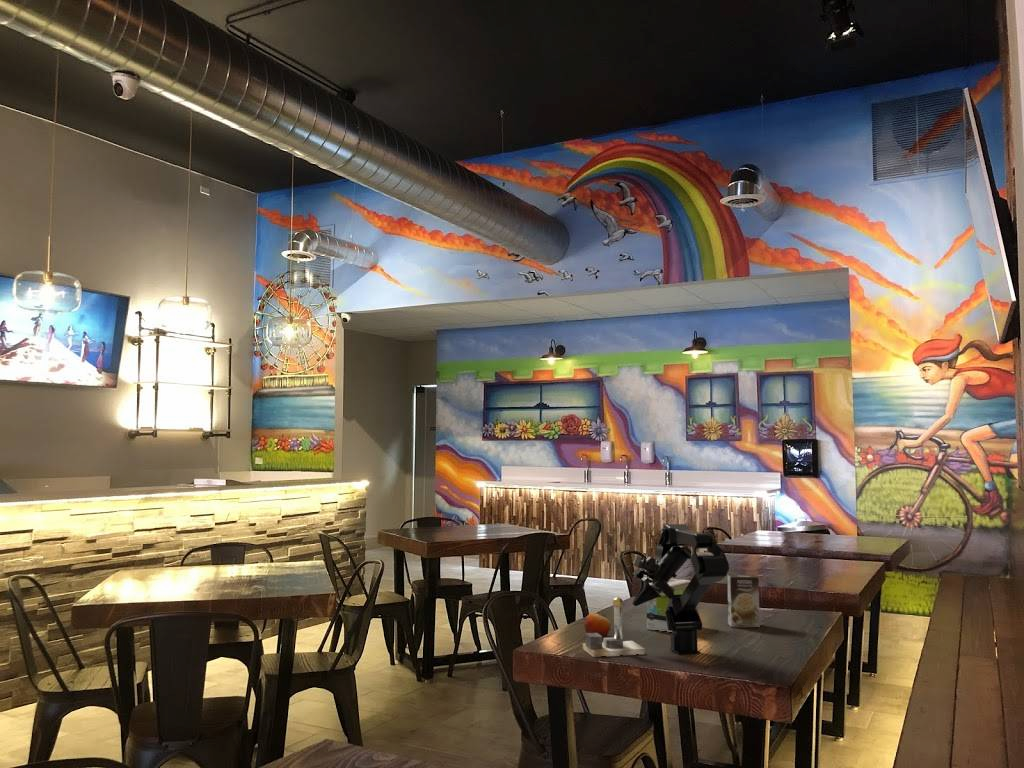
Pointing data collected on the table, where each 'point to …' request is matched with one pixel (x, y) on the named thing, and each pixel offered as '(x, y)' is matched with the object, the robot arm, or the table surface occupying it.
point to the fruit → (597, 624)
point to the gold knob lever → (616, 621)
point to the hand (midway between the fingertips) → (633, 605)
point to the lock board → (610, 646)
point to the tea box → (663, 606)
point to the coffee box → (743, 600)
